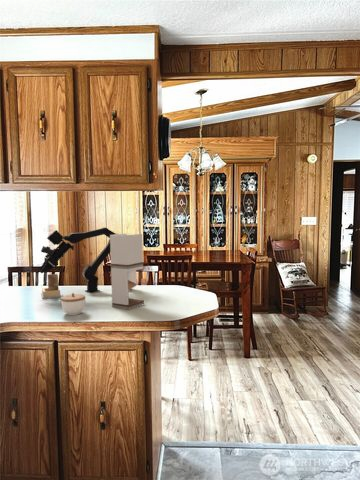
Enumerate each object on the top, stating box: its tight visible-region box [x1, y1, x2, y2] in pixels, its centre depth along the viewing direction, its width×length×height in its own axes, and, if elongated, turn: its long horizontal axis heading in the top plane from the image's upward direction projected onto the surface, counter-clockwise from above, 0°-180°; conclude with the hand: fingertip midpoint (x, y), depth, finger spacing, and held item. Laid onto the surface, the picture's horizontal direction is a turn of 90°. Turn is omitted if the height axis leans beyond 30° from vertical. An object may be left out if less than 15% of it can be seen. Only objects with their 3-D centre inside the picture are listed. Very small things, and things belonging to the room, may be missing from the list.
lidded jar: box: [60, 292, 86, 316], centre depth 167 cm, size 11×11×9 cm
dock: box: [40, 287, 64, 300], centre depth 205 cm, size 11×12×4 cm
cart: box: [47, 273, 59, 291], centre depth 205 cm, size 5×6×11 cm
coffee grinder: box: [109, 233, 145, 311], centre depth 178 cm, size 11×11×35 cm
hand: (40, 271), depth 202 cm, fingers open, 9 cm apart
